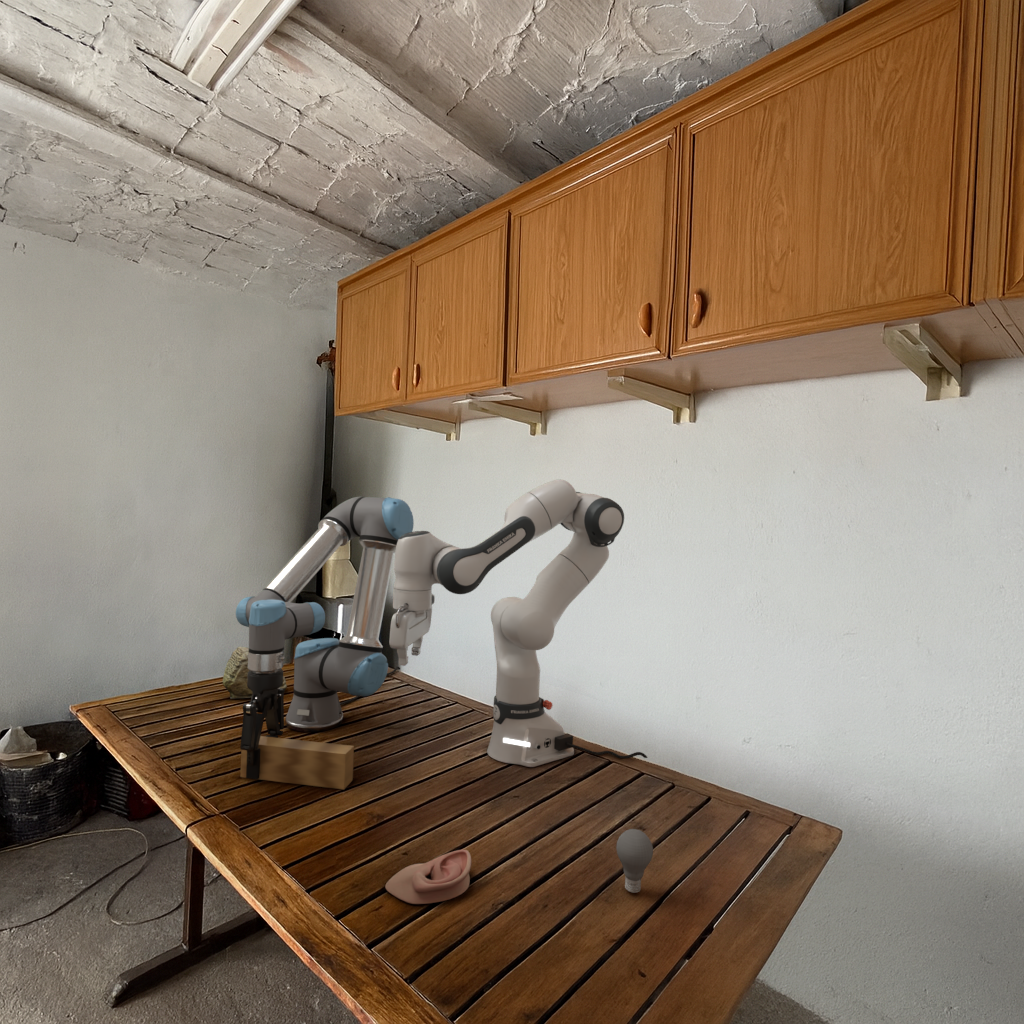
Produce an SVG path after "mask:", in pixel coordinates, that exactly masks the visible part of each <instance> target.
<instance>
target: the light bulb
mask: <svg viewBox="0 0 1024 1024" xmlns="http://www.w3.org/2000/svg"><path fill="white" fill-rule="evenodd" d="M615 849H616V854H617V857H618V859H619V861H620V863H621V865H622V867H623V873H624V874H623V875H624V876H625V878H624V888H625V890H627V891H628V892H630V893H634V894H635V893H639V892H640V891H641V889H642V887H641V886H642V879H643V877H644V875H645V871H646V868H647V867H648V866H649V864H650V863H651V861H652V859H653V855H654V847H653V843H652V841H651V838H649V836H648V835H647V834H646V833H645V832H643V831H642V830H641V829H636V828H629V829H627V830H625V831H623V832H622V833H621V834H620V835H619V837H618V839H617V841H616V847H615Z"/></svg>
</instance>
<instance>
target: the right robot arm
mask: <svg viewBox="0 0 1024 1024" xmlns="http://www.w3.org/2000/svg"><path fill="white" fill-rule="evenodd" d="M503 519H504V524H503V525H502V526H501V527H500V528H499V529H498V530H497V531H495V532H493V533H492V534H490V535H489V536H488V537H486V538H485V539H484V540H482V541H480V542H479V543H477V544H475V545H474V546H471V547H465V548H460V547H458V546H456V545H453V544H450V543H447V542H445V541H443V540H442V539H439V538H438V537H437V536H435V535H433V534H432V533H431V532H430V531H427V530H416V531H415V530H414V531H412V532H409V533H406V534H403V535H402V536H401V537H400V538H399V539H398V542H397V545H396V552H395V553H394V561H393V562H394V563H393V564H394V565H393V566H394V567H393V570H394V575H395V579H394V583H393V589H392V591H393V592H392V608H393V609H394V610H397V612H395V613H393V615H392V617H391V621H390V627H389V628H390V629H389V648H391V649H395V650H396V653H397V657H398V665H399V666H402V667H404V666H406V665H408V663H409V656H408V651H409V647H410V646H411V645H412V647H411V655H412V656H416V657H417V656H419V655H420V654H421V649H422V643H423V640H424V636H425V635H427V634H428V633H429V632H430V628H431V625H432V623H431V622H432V617H433V605H434V604H435V599H436V596H435V594H433V593H432V590H433V585H434V584H437V585H440V586H442V587H443V588H445V590H446V591H448V592H450V593H452V594H455V595H466V594H470V593H471V592H473V591H475V590H476V589H477V588H478V587H479V586H480V585H481V583H482V582H483V581H484V579H485V577H486V576H487V575H488V574H489V573H490V571H492V569H494V568H495V567H496V566H497V565H499V564H501V562H503V561H505V560H507V558H509V557H511V555H513V554H514V553H516V552H517V551H518V550H520V549H521V548H523V547H524V546H525V545H527V544H529V543H530V542H532V541H534V540H537V539H538V538H540V537H541V536H543V535H545V534H546V533H549V532H550V531H552V529H554V528H555V527H557V526H558V525H561V526H562V527H563V528H564V529H566V530H568V531H570V532H573V535H572V538H571V539H570V542H569V543H568V544H567V546H566V547H565V548H564V549H562V550H561V551H559V553H558V554H557V555H556V556H555V557H554V558H553V559H551V561H550V562H549V563H548V564H547V565H546V566H544V568H543V569H542V570H541V571H540V572H539V573H538V574H537V575H536V578H535V582H534V584H533V586H531V589H530V590H529V592H528V594H527V595H526V596H525V597H524V598H521V597H518V596H507V597H503V598H500V599H499V600H497V601H496V602H495V603H494V605H492V608H491V611H490V621H491V624H492V632H493V641H494V651H495V660H496V681H495V682H496V683H495V695H494V697H493V708H492V717H493V719H492V720H493V724H492V730H491V736H490V738H489V743H488V746H487V749H486V753H487V755H488V756H489V757H490V758H491V759H493V760H495V761H498V762H501V763H505V764H511V765H519V766H523V767H527V768H535V767H539V766H541V765H544V764H545V765H546V764H548V763H552V762H555V761H558V760H561V759H565V758H568V757H572V756H574V755H575V749H576V750H578V751H579V750H580V751H582V752H584V753H585V752H586V753H588V754H590V755H593V756H603V755H611V756H613V757H615V758H616V759H620V760H627V759H631V758H633V757H636V756H641V757H643V758H644V759H648V755H646V754H645V753H643V752H641V751H636V752H632V753H630V754H628V755H620V754H618V753H616V752H614V751H611V750H603V751H593V750H590V749H588V748H586V747H582V746H580V745H576V744H574V735H572V734H570V733H568V732H567V733H565V730H564V727H563V726H562V725H561V724H560V723H559V722H558V721H557V720H555V719H554V718H553V717H552V716H551V715H550V714H548V713H547V712H546V711H545V709H546V710H547V711H550V710H551V709H552V708H553V706H554V705H553V702H552V701H549V700H548V699H544V698H542V697H541V696H540V683H541V666H540V663H539V660H538V655H537V651H540V650H543V649H544V648H546V647H547V646H549V644H550V643H551V642H552V641H553V637H554V634H555V628H556V626H557V625H558V623H559V621H560V620H561V618H562V616H563V614H564V613H565V611H566V610H567V608H568V607H569V606H570V605H571V603H572V602H573V601H574V600H575V599H576V598H577V597H578V596H579V595H580V594H581V593H582V592H583V591H584V590H585V589H586V588H587V587H588V586H589V585H590V584H591V582H593V580H594V579H595V578H596V577H597V576H598V575H599V573H600V572H601V570H602V569H603V568H604V566H605V564H606V563H607V562H608V559H609V558H610V550H609V547H608V546H610V545H612V544H613V543H614V541H615V540H616V538H617V536H618V535H619V534H620V532H621V531H622V528H623V526H624V524H625V523H624V522H625V513H624V510H623V508H622V507H621V505H620V504H619V503H617V502H616V501H614V500H613V499H611V498H608V497H604V496H602V495H598V494H595V493H586V492H580V491H576V489H575V488H574V486H573V485H572V484H571V483H570V482H569V481H566V480H565V479H561V478H558V479H553V480H551V481H548V482H546V483H545V482H544V483H543V484H541V485H539V486H536V487H535V488H532V489H530V490H529V491H528V492H525V493H523V494H522V495H521V496H519V497H518V498H517V499H515V500H514V501H512V503H510V504H509V505H508V506H507V507H506V509H505V511H504V518H503Z"/></svg>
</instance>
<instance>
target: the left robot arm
mask: <svg viewBox="0 0 1024 1024" xmlns="http://www.w3.org/2000/svg"><path fill="white" fill-rule="evenodd" d="M414 521H415V520H414V515H413V512H412V510H411V507H410V506H409V504H408V503H407V502H406V501H405V500H403V499H400V498H394V497H390V496H387V497H382V496H381V497H379V496H355V497H352V498H349V499H346V500H345V501H342V502H341V503H340V504H338V505H336V506H335V507H334V508H333V509H331V510H330V511H329V512H328V513H327V514H326V515H325V516H324V517H323V518H321V520H320V521H319V522H318V524H317V528H318V529H317V530H316V531H314V533H313V534H312V535H311V536H310V537H309V538H308V539H307V540H306V542H305V543H304V544H303V545H302V546H301V547H300V548H299V549H298V550H297V552H296V553H294V554H293V556H291V558H290V559H289V560H288V561H287V562H286V563H285V565H284V566H283V567H282V568H281V569H280V570H279V571H278V572H277V573H276V574H275V575H274V577H273V578H272V579H271V580H270V581H269V582H268V583H267V584H266V585H265V586H264V588H263V589H261V591H260V592H259V593H258V594H257V595H255V596H254V595H253V596H246V597H244V598H242V599H240V601H238V603H237V606H236V609H235V618H236V620H237V622H238V623H239V624H240V625H241V626H243V627H246V628H248V648H249V652H248V669H249V670H250V671H249V672H248V676H247V687H248V688H249V689H250V690H252V692H253V693H252V697H251V698H250V701H249V703H243V705H242V715H243V717H242V724H241V725H242V726H241V737H240V747H239V748H240V750H247V766H246V778H245V779H250V780H251V779H252V780H259V773H260V748H258V745H259V741H260V736H262V731H263V726H264V720H265V725H266V731H267V735H265V737H275V738H279V736H283V734H284V731H283V730H284V729H285V726H286V728H287V729H289V730H291V731H294V732H295V731H296V732H301V733H316V732H325V731H329V730H332V729H335V728H337V727H339V726H340V725H342V723H343V722H344V713H343V709H342V706H343V705H346V704H348V703H351V702H353V701H355V700H357V699H359V698H360V697H370V696H372V695H373V694H375V693H376V692H377V691H378V690H379V689H380V688H381V687H382V686H383V684H384V682H385V681H386V679H387V678H386V677H387V676H389V675H393V674H395V672H396V671H397V670H401V668H400V666H396V667H395V668H394V669H393V670H392V671H390V672H388V671H389V663H388V659H387V657H386V656H385V655H384V654H383V647H384V646H383V645H382V643H381V642H380V640H379V638H380V633H381V628H382V621H383V616H384V611H385V605H386V601H387V594H388V589H389V584H390V578H391V572H392V568H393V562H394V558H395V552H396V545H397V542H398V539H399V538H400V537H401V536H402V535H403V534H406V533H409V532H414V526H415V525H414ZM355 538H359V539H358V543H359V544H360V545H361V547H362V553H361V558H360V563H359V568H358V574H357V579H356V585H355V589H354V594H353V600H352V605H351V611H350V615H349V621H348V626H347V631H346V635H344V636H343V637H342V638H341V639H338V638H335V637H324V638H323V637H322V638H313V639H308V640H304V641H302V642H299V643H298V644H297V645H296V647H295V652H294V653H295V654H294V657H293V659H294V660H293V662H294V663H293V665H294V666H293V695H292V696H293V697H292V699H291V702H290V704H289V708H288V711H287V713H286V715H285V705H284V703H285V702H284V701H285V700H284V699H285V698H284V697H285V691H286V690H285V689H284V688H280V687H281V686H282V685H283V676H284V670H283V667H284V660H285V659H286V658H285V641H286V640H289V639H294V638H299V637H303V636H310V635H312V634H314V633H318V632H319V631H321V630H322V629H323V628H324V626H325V623H326V613H325V610H324V608H323V607H322V606H321V604H319V603H318V602H315V601H312V602H308V601H305V602H303V603H296V602H293V601H294V600H295V599H296V598H297V597H298V595H299V594H300V593H301V592H302V591H303V590H304V588H306V586H307V585H308V584H309V582H310V581H312V579H313V578H314V577H315V576H316V574H317V573H318V572H319V571H320V570H321V568H322V567H323V566H324V565H325V564H326V563H327V562H328V561H329V559H330V558H331V557H332V556H333V554H334V553H335V552H336V551H337V550H338V549H339V548H340V547H345V546H346V545H347V544H348V543H349V542H350V541H351V540H353V539H355ZM338 692H340V693H344V694H348V695H351V696H353V697H352V698H350V699H348V700H345V701H342V702H340V699H339V695H338Z"/></svg>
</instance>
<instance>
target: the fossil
mask: <svg viewBox="0 0 1024 1024" xmlns="http://www.w3.org/2000/svg"><path fill="white" fill-rule="evenodd" d="M248 652H249V647H247V646H246V647H245V646H238V647H237V648H236V649H235V650H233V651H232V653H231V656H230V657H229V659H228V660H227V663H226V666H225V668H224V671H223V675H222V676H223V677H222V685H223V687H224V688H225V690H226V691H228V693H229V698H230V699H251V697H252V693H253V692H252V690H250V689H249V688H248V687H247V676H248V672H249V671H250V670H249V669H248ZM287 687H288V686H287V680H286V678H285V676H284V675H283V685H282V686H281V687H280V688H284V689H285V691H286V689H287Z"/></svg>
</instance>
